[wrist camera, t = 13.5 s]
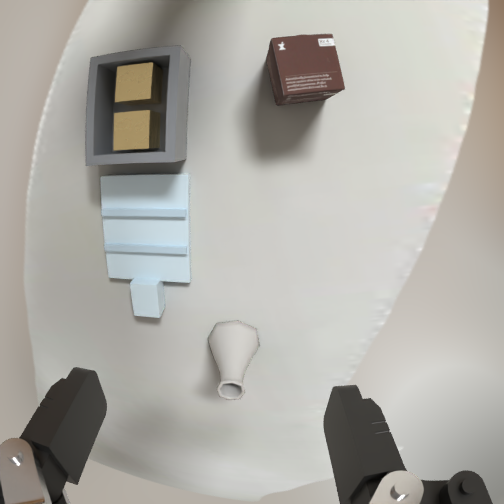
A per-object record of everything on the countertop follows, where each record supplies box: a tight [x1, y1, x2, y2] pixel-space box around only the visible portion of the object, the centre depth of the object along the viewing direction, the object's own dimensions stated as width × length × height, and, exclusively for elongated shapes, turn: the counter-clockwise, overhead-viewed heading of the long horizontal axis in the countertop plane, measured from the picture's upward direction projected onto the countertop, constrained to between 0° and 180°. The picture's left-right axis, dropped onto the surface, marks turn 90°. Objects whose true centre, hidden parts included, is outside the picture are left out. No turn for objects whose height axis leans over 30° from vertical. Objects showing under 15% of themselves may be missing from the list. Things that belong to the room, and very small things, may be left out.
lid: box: [100, 174, 192, 318], centre depth 36 cm, size 17×11×3 cm, turn 177°
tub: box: [86, 45, 191, 166], centre depth 29 cm, size 12×10×6 cm
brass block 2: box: [114, 110, 161, 150], centre depth 30 cm, size 4×4×4 cm
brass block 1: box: [115, 62, 163, 106], centre depth 28 cm, size 4×4×4 cm
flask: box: [208, 321, 260, 400], centre depth 37 cm, size 7×7×10 cm
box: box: [266, 34, 345, 105], centre depth 27 cm, size 6×6×7 cm
